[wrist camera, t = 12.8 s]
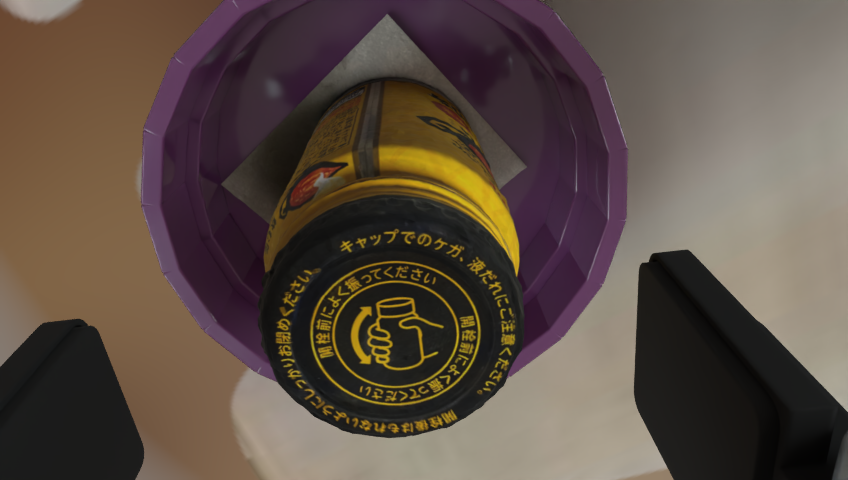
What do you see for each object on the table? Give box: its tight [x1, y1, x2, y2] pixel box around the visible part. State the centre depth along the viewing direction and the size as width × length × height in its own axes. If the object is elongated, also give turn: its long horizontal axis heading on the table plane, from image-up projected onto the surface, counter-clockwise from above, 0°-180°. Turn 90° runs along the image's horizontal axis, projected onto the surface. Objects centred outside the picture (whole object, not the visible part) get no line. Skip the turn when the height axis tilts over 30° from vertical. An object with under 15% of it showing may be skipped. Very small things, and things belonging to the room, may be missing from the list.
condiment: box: [221, 14, 527, 438], centre depth 17 cm, size 7×8×12 cm
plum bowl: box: [141, 0, 628, 382], centre depth 21 cm, size 14×14×5 cm
